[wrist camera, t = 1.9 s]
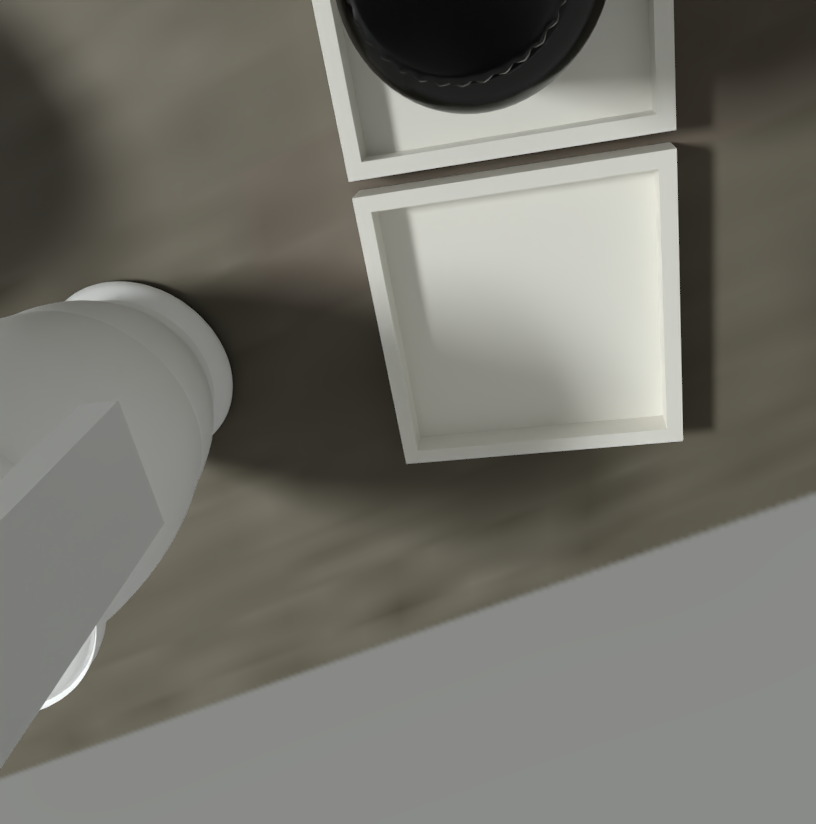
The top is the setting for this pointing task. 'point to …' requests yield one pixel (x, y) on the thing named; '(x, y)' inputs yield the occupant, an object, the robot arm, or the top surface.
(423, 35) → the supplement bottle
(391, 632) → the top surface
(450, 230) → the tray
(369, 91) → the tray middle
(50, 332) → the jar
